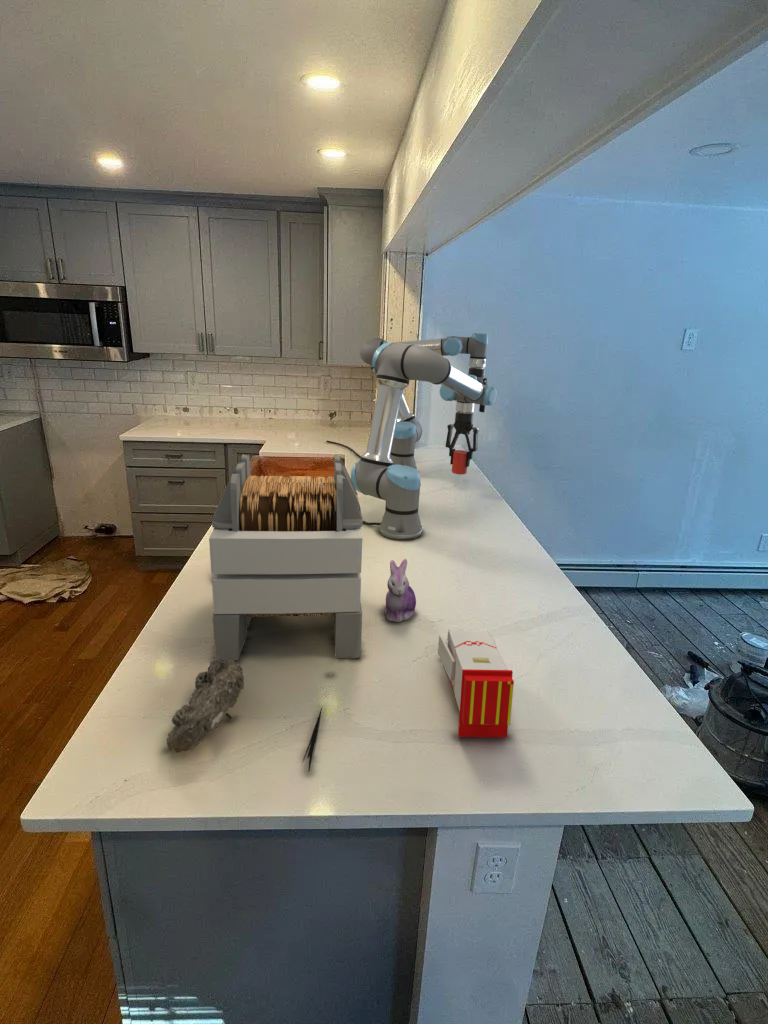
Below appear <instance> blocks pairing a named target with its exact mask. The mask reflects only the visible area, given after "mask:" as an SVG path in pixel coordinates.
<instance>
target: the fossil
mask: <svg viewBox="0 0 768 1024" xmlns="http://www.w3.org/2000/svg"><path fill="white" fill-rule="evenodd" d="M243 670H244V669H243V667H242V665H240V664H237V662H236V660H232V659H231V660H228V659H227V660H221V661H217V660H215V659H212V660H211V661H210V663H209V665H208V666H207V671H201V672H199V673H198V674H197V675H196V676H195V680H194V684H195V685H194V687H195V689H194V690H193V693H192V694H191V697H190V698H189V700H188V704H184V705H182V706H181V707H180V709H177V710H176V711H175V713H174V715H173V716H172V718H171V723H172V724H173V727H172V730H171V731H170V732H168V734H167V738H166V741H167V742H166V745H167V749H168V750H169V751H173V752H174V753H176V754H178V753H182V752H188V751H189V752H192V751H193V750H195V748H196V747H197V746H199V744H200V743H201V742H203V741H204V740H205V739H206V738H207V737H208V736H209V735H210V734H211V733H212V732H214V730H215V729H217V727H218V726H219V724H220V722H221V721H222V720H223V719H224V718H225V716H226V717H227V719H229V720H233V717H232V715H230V714H229V710H230V709H231V708H234V706H235V704H236V703H237V702H238V699H239V697H240V695H241V693H242V691H243V690H245V689H244V688H245V675H244V671H243Z"/></svg>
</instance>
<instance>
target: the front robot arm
mask: <svg viewBox="0 0 768 1024" xmlns="http://www.w3.org/2000/svg"><path fill="white" fill-rule="evenodd" d="M395 342H396V341H394V343H392V342H388V343H384V344H382V345H381V346H380V347H379V348H378V349H377V350H376V352H375V354H374V356H373V361H372V366H373V367H374V368H373V370H374V372H373V373H375V374H376V377H375V380H376V382H377V383H378V391H377V395H376V401H375V406H374V410H373V415H372V420H371V427H370V430H369V437H368V442H367V447H366V451H365V452H364V453H363V454H362V455H360V456H361V458H360V460H358V461H356V462H355V463H354V465H353V466H352V468H351V471H350V478H351V481H352V483H353V485H354V487H355V489H356V492H357V493H361V494H363V495H365V496H370V497H372V498H376V499H380V500H383V501H385V504H384V505H385V507H384V508H385V509H384V513H383V515H382V519H381V522H375V521H374V522H373V521H371V522H370V521H365V520H363V524H362V525H367V526H378V533H379V534H380V535H381V536H382V537H385V538H387V539H389V540H395V541H410V540H415V539H418V538H420V537H421V536H422V535H423V525H422V524H421V518H420V515H419V507H420V506H419V505H420V494H421V493H420V492H421V486H422V485H421V474H420V472H419V471H418V469H417V470H416V469H414V468H412V467H409V466H405V465H393V461H392V460H391V458H390V453H391V448H392V443H393V438H394V433H395V428H396V423H397V418H398V413H399V408H400V403H401V398H402V393H403V394H404V390H405V389H407V388H408V387H409V386H410V381H419V382H427V383H431V384H433V385H441V386H440V387H439V396H440V397H441V399H442V401H445V402H452V401H454V402H456V405H455V414H454V415H455V416H454V422H453V423H450V424H447V427H446V428H447V434H446V441H445V448H448V449H449V450H448V457H450V462H449V464H450V465H451V466H452V464H453V453H454V451H455V450H456V448H455V446H456V443H457V441H458V439H459V437H460V435H464V437H465V441H466V446H467V457H466V467H467V468H468V467H470V462H471V461H472V459H473V454H474V452H476V451H478V447H479V446H478V443H479V431H480V428H479V427H476V426H474V423H473V422H474V412H475V404H476V405H479V406H480V405H485V406H488V407H489V406H490V407H491V406H492V405H494V403H496V399H497V395H498V392H497V388H496V387H494V386H492V385H489V384H487V385H488V386H487V385H483V384H481V383H480V382H478V381H477V377H476V376H475V375H469V374H468V373H467V374H466V373H464V372H463V371H462V370H460V369H458V368H457V367H455V366H453V364H451V361H450V360H449V359H448V358H446V356H442V355H440V354H438V353H436V352H435V351H433V350H431V349H429V348H426V347H424V346H420V345H411V344H403V343H395ZM454 429H455V433H454V436H453V430H454ZM471 431H472V432H473V434H472V437H471ZM452 437H453V438H452Z"/></svg>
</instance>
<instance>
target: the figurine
mask: <svg viewBox="0 0 768 1024" xmlns="http://www.w3.org/2000/svg"><path fill="white" fill-rule="evenodd" d="M407 567H408V559H406V558H404V559H403V560H402V561H401V563H400V565H399V566H398V565H397V563H396V562H395V561H394V560H393V559H391V560H390V561H389V570H390V576H389V578H388V579H387V589H388V591H387V592H386V594H385V595H386V596H385V607H384V615H385V616H386V620H387V621H391V622H395V623H400V622H402V621H406V620H409V619H410V618H411V617H413V616H414V615H415V610H416V606H417V597H416V593H415V591H414V590H413V587H411V586H410V582H409V579H408V577H407V574H406V571H407Z"/></svg>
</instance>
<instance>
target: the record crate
mask: <svg viewBox="0 0 768 1024" xmlns="http://www.w3.org/2000/svg"><path fill="white" fill-rule="evenodd" d="M333 460H334V461H333V469H334V470H333V476H327V477H325V476H321V475H319V476H314V477H313V476H311V475H309V476H307V475H290V476H283V475H279V476H278V475H265V476H264V475H259V476H258V475H251V459H250V454H243V453H242V454H241V456H240V459H239V461H238V462H237V464H236V466H235V469H234V471H233V473H232V474H231V475H230V478H229V479H228V482H227V484H226V486H225V489H224V491H223V493H222V496H221V498H220V500H219V502H218V504H217V507H216V508H215V511H214V513H213V516H212V518H211V527H212V528H213V529H212V531H211V534H210V535H209V538H208V543H209V559H210V574H211V575H213V576H212V579H211V587H212V588H211V589H212V600H213V601H212V603H213V612H212V629H213V630H212V631H213V640H214V649H215V657H214V660H217V661H224V660H227V659H228V660H231V659H232V660H234V661H238V660H239V658H240V654H241V653H242V649H243V647H244V645H245V642H246V640H247V636H248V632H247V630H248V629H247V627H249V626H250V624H251V623H250V622H251V618H253V617H254V618H255V617H258V618H259V617H264V618H265V617H267V618H268V617H292V616H293V617H308V616H310V617H311V616H333V618H332V619H333V626H334V627H333V636H334V638H333V639H334V640H333V641H334V658H337V659H342V658H344V659H345V658H347V659H349V658H352V659H358V658H359V657H361V656H362V633H363V632H362V631H363V630H362V629H363V611H362V603H361V590H362V576H361V574H362V563H363V562H362V561H363V534H362V529H361V528H362V527H363V525H364V524H363V521H364V519H363V515H362V509H361V505H360V499H359V494H358V491H357V490H356V489H355V487H354V485H353V483H352V481H351V475H350V474H349V472H348V470H347V468H346V466H345V463H344V461H343V459H342V456H341V455H336V454H334V458H333Z"/></svg>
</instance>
